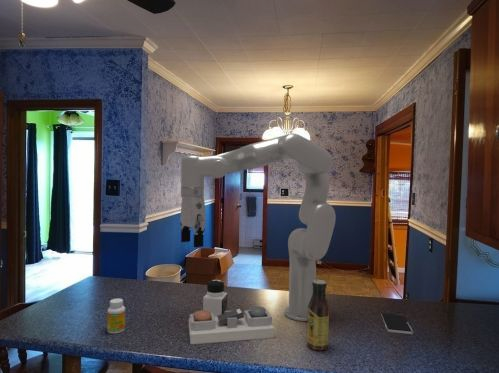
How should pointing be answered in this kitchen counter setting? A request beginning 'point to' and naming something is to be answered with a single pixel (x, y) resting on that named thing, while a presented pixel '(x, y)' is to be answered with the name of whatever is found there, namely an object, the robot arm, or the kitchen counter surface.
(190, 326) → the switch panel
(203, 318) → the terracotta button
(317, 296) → the sauce bottle
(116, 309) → the supplement bottle
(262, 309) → the slate button
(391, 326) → the smartphone
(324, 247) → the robot arm
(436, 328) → the kitchen counter surface
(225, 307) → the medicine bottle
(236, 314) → the block
